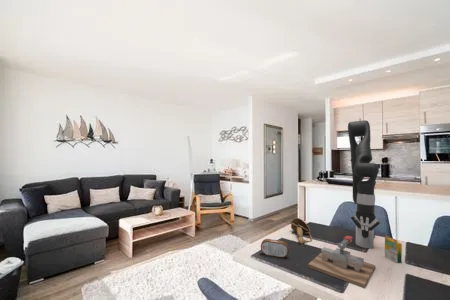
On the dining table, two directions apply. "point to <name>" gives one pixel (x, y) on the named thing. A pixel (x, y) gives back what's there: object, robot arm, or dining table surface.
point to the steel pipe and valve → (342, 258)
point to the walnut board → (343, 271)
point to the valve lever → (344, 243)
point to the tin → (274, 248)
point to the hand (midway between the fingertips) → (365, 237)
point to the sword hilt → (300, 229)
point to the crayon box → (393, 249)
